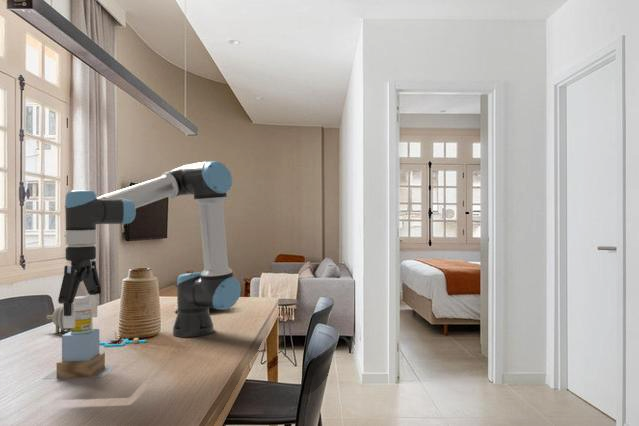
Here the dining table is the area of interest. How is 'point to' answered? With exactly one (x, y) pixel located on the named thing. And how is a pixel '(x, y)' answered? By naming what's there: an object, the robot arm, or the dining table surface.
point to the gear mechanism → (120, 341)
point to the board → (100, 373)
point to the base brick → (81, 367)
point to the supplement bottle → (82, 315)
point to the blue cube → (80, 346)
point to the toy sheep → (58, 319)
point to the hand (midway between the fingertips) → (81, 322)
